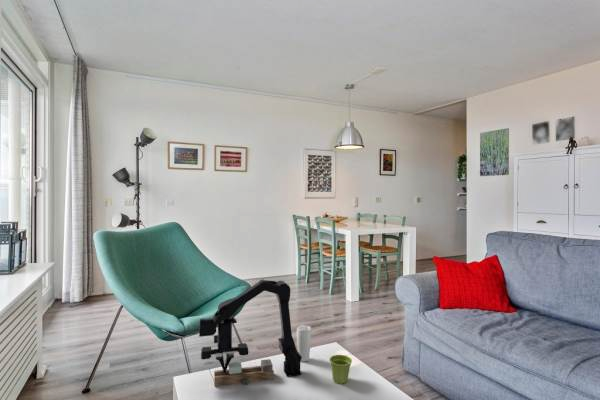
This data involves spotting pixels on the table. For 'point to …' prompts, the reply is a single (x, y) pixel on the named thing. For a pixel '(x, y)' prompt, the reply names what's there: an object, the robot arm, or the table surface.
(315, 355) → the table surface
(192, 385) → the table surface
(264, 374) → the beam
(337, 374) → the plant pot
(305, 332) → the drinking glass
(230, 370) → the block
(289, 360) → the robot arm
